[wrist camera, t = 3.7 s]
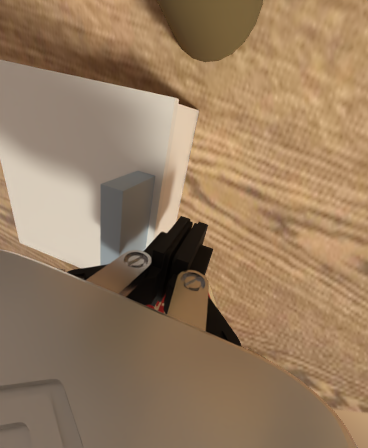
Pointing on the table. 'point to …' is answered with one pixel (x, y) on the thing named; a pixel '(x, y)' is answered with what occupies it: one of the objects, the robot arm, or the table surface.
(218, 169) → the table surface
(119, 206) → the lid
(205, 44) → the cork
